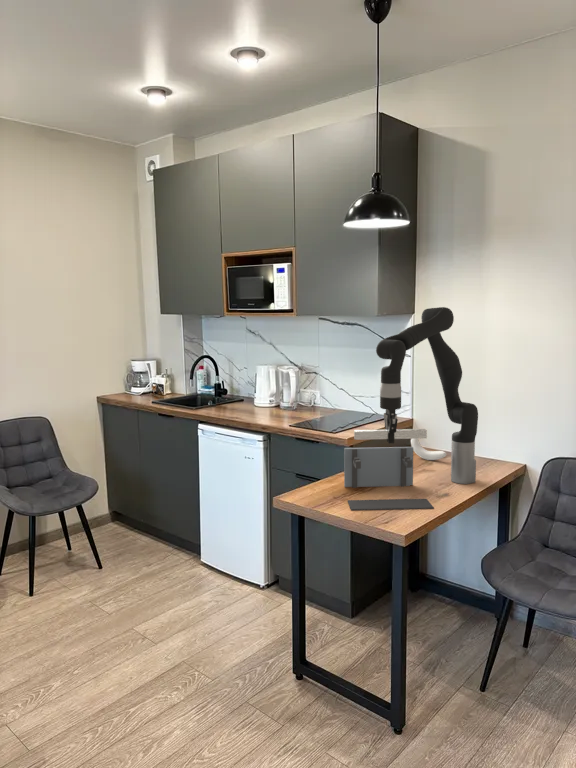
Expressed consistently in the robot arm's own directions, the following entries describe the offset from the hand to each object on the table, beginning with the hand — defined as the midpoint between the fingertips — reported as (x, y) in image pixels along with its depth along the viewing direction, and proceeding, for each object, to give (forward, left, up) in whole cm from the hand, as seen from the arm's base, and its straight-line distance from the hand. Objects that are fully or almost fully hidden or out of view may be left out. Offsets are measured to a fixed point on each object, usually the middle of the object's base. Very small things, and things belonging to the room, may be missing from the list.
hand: (390, 442), depth 209 cm
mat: (0, 0, -24) cm, 24 cm away
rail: (0, 0, +1) cm, 1 cm away
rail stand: (0, -18, -24) cm, 30 cm away
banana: (-31, -63, -24) cm, 74 cm away
